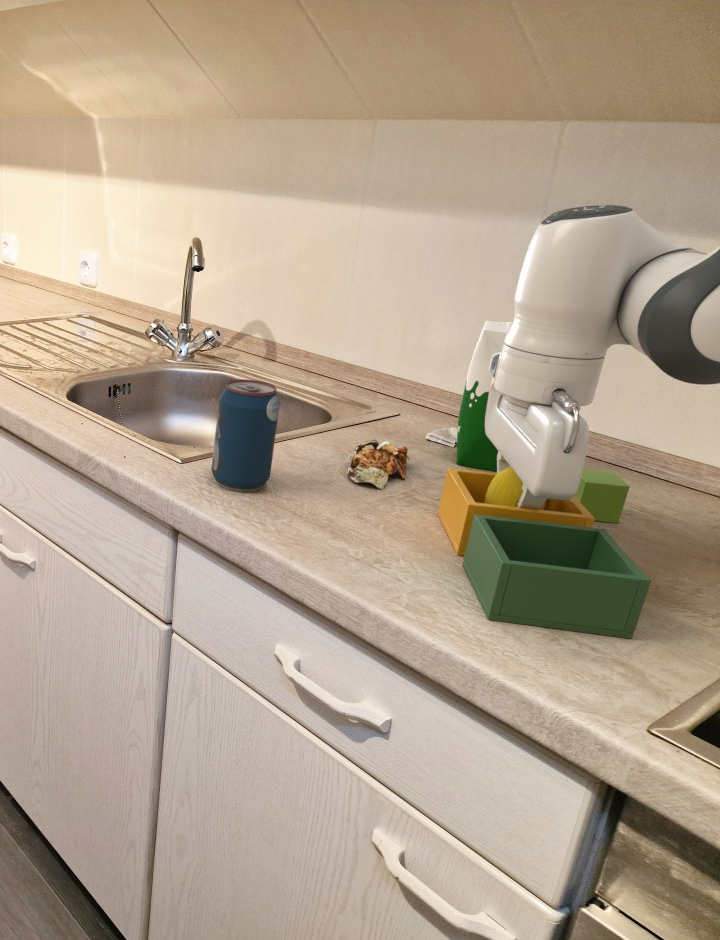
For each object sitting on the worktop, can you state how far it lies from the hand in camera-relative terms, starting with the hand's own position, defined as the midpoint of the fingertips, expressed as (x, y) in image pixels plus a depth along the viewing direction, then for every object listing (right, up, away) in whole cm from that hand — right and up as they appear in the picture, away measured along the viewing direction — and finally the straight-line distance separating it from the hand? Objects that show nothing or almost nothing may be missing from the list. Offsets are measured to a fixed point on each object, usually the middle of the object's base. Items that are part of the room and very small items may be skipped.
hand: (513, 506), depth 89 cm
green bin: (-3, -8, -10) cm, 14 cm away
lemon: (0, -3, +1) cm, 4 cm away
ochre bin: (0, -4, +1) cm, 4 cm away
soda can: (-26, +2, +14) cm, 29 cm away
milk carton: (+9, +5, +25) cm, 27 cm away
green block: (+14, -1, +10) cm, 17 cm away
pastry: (-8, +4, +19) cm, 21 cm away
